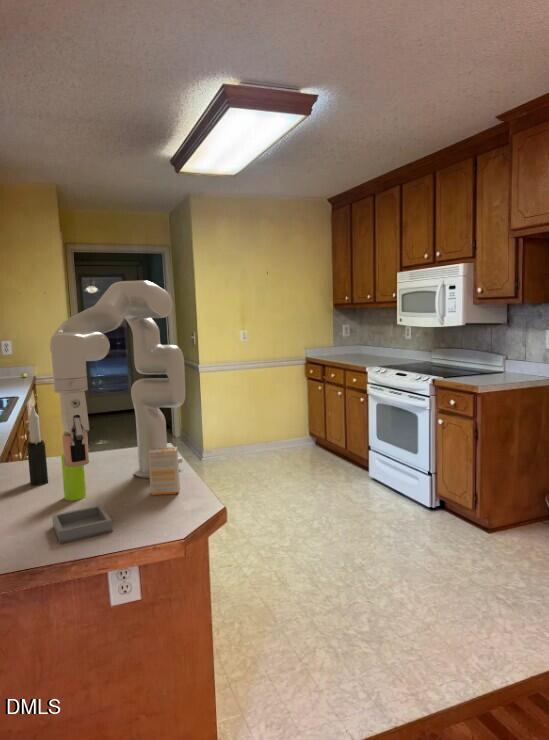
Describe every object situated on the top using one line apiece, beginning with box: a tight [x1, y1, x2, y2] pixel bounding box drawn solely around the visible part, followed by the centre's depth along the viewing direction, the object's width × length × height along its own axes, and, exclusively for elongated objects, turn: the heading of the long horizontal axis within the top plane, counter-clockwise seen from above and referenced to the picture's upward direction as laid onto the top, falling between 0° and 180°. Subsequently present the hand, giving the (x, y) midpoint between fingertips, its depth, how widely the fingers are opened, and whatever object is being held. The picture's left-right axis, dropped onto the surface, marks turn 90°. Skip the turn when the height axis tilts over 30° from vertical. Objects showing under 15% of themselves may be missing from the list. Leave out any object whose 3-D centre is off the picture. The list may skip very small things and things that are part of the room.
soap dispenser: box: [60, 430, 87, 502], centre depth 152 cm, size 6×7×20 cm
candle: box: [26, 405, 49, 486], centre depth 166 cm, size 5×5×25 cm
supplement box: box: [148, 446, 181, 496], centre depth 153 cm, size 8×5×13 cm, turn 94°
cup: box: [61, 430, 90, 467], centre depth 127 cm, size 6×6×8 cm
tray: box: [51, 504, 113, 545], centre depth 129 cm, size 12×12×3 cm
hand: (76, 457), depth 127 cm, fingers closed on cup, 5 cm apart
